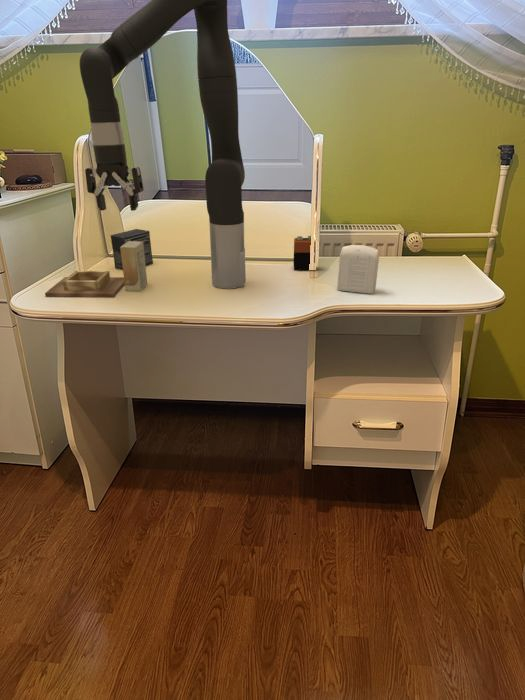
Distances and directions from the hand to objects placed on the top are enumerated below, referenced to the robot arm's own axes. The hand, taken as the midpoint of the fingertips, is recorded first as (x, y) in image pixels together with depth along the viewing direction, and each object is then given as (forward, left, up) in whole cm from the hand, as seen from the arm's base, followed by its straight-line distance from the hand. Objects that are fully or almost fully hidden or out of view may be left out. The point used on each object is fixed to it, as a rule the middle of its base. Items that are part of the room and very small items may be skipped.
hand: (118, 210), depth 134 cm
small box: (+3, -21, -21) cm, 30 cm away
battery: (-50, -19, -21) cm, 57 cm away
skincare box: (-3, 0, -21) cm, 21 cm away
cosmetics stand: (+10, +1, -21) cm, 23 cm away
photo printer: (-63, +1, -21) cm, 66 cm away
